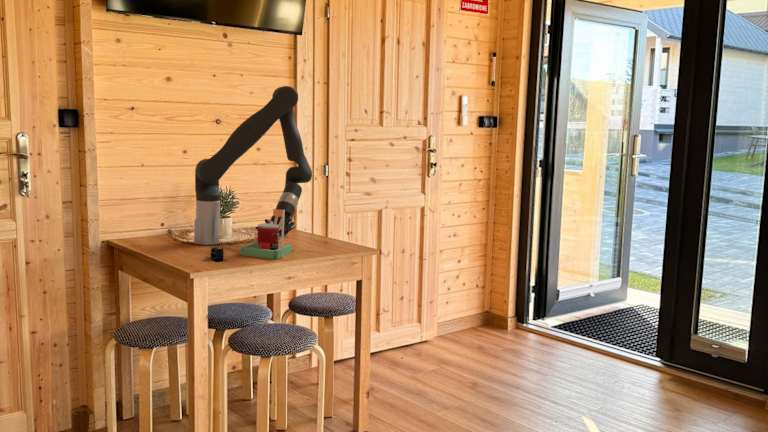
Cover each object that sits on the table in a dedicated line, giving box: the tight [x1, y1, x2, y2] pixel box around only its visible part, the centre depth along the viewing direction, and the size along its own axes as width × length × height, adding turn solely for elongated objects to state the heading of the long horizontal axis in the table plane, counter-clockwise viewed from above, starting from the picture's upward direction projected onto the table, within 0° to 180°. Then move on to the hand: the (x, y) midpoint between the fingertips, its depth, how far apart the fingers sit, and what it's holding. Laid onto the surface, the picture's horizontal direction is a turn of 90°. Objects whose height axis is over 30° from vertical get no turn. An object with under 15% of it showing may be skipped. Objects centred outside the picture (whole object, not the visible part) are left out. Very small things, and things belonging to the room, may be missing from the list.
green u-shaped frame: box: [240, 208, 293, 260], centre depth 268 cm, size 16×14×18 cm
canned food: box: [257, 222, 280, 250], centre depth 269 cm, size 8×8×11 cm
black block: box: [204, 246, 229, 263], centre depth 256 cm, size 12×7×5 cm, turn 39°
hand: (272, 241), depth 273 cm, fingers closed
